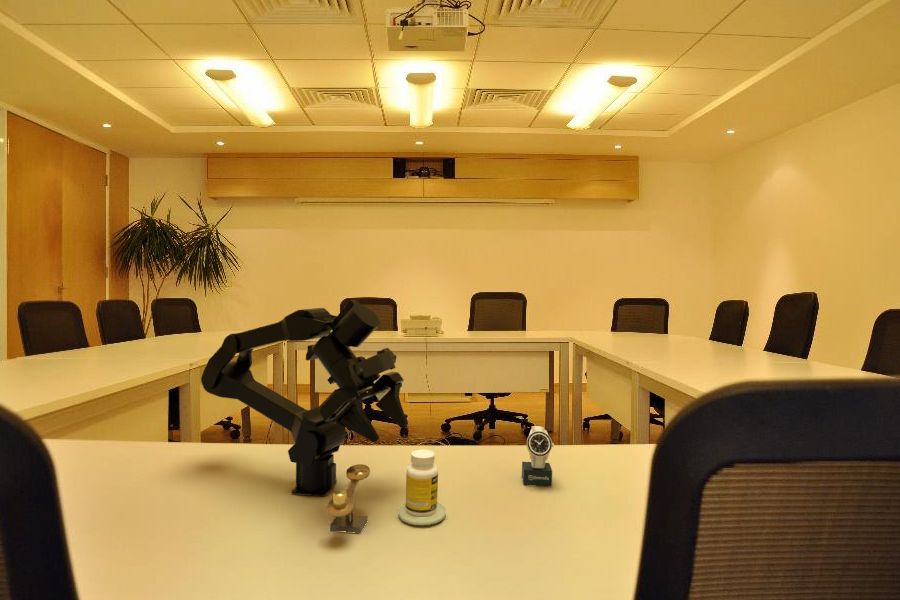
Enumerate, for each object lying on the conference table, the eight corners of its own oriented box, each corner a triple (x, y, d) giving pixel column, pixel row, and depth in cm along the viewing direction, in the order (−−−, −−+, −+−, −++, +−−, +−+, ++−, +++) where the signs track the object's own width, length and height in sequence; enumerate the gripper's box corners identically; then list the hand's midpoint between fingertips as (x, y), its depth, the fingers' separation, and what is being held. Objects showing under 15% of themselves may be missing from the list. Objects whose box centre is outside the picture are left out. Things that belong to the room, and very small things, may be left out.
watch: (524, 489, 97) (526, 433, 97) (521, 473, 105) (522, 421, 105) (553, 490, 97) (555, 434, 96) (548, 474, 105) (549, 422, 104)
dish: (393, 525, 82) (393, 519, 82) (404, 503, 90) (404, 497, 90) (441, 529, 81) (442, 523, 81) (448, 507, 89) (448, 501, 89)
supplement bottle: (435, 518, 83) (436, 460, 82) (402, 516, 83) (404, 458, 83) (438, 503, 88) (439, 448, 88) (408, 501, 89) (409, 447, 88)
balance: (319, 546, 76) (319, 494, 75) (347, 506, 89) (347, 463, 88) (351, 549, 75) (352, 497, 75) (375, 509, 88) (375, 465, 87)
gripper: (334, 341, 81) (392, 419, 77) (396, 330, 98) (445, 393, 93) (296, 383, 85) (348, 460, 80) (361, 366, 101) (407, 428, 97)
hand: (392, 432), depth 88 cm, fingers open, 9 cm apart
